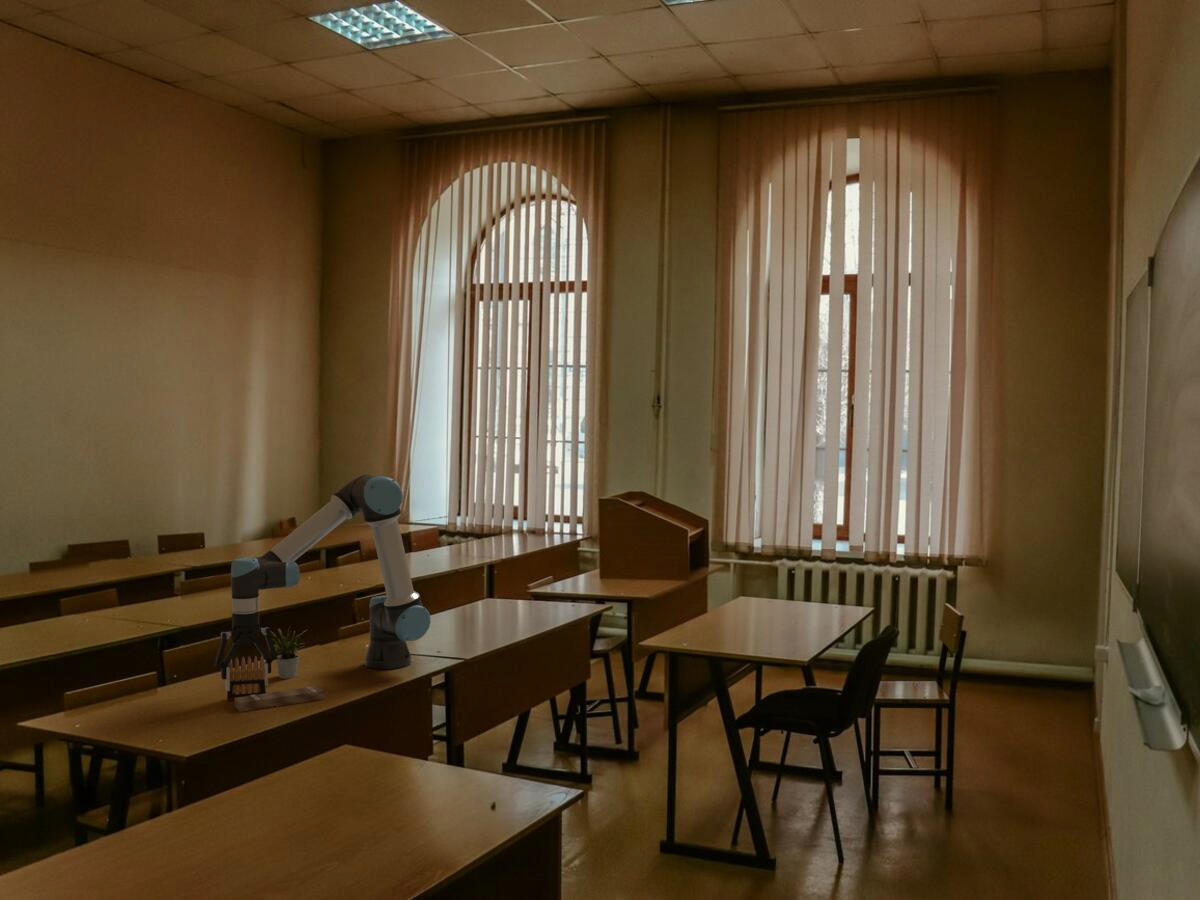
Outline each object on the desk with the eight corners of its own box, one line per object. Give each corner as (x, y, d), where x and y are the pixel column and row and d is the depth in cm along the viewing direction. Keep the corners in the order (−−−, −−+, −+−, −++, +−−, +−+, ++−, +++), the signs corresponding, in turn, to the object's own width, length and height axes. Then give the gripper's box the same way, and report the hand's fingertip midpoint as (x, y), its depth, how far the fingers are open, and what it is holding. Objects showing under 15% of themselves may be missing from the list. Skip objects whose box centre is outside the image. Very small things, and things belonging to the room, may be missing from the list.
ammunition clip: (266, 695, 302) (265, 654, 301) (265, 696, 300) (265, 655, 300) (227, 697, 299) (227, 656, 299) (227, 699, 298) (226, 658, 297)
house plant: (252, 681, 319) (251, 629, 319) (271, 671, 333) (270, 621, 333) (295, 682, 318) (295, 630, 317) (313, 672, 332) (312, 621, 331)
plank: (318, 694, 304) (318, 685, 304) (325, 699, 298) (324, 690, 298) (234, 706, 291) (234, 697, 291) (239, 711, 286) (239, 702, 285)
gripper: (281, 605, 308) (282, 679, 309) (201, 613, 296) (203, 690, 297) (288, 609, 302) (289, 684, 302) (207, 617, 290) (208, 695, 290)
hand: (246, 687), depth 300 cm, fingers closed on ammunition clip, 10 cm apart
